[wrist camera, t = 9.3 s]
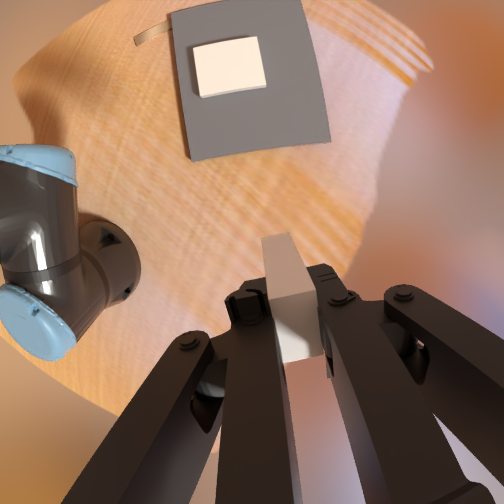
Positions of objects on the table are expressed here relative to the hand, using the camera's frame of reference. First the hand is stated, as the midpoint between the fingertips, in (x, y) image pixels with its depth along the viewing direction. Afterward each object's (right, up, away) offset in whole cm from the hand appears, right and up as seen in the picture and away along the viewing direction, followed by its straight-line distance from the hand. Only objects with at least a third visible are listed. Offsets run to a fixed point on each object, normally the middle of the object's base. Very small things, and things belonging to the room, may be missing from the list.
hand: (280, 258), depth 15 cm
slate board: (-2, +27, +19) cm, 33 cm away
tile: (0, +27, +17) cm, 31 cm away
